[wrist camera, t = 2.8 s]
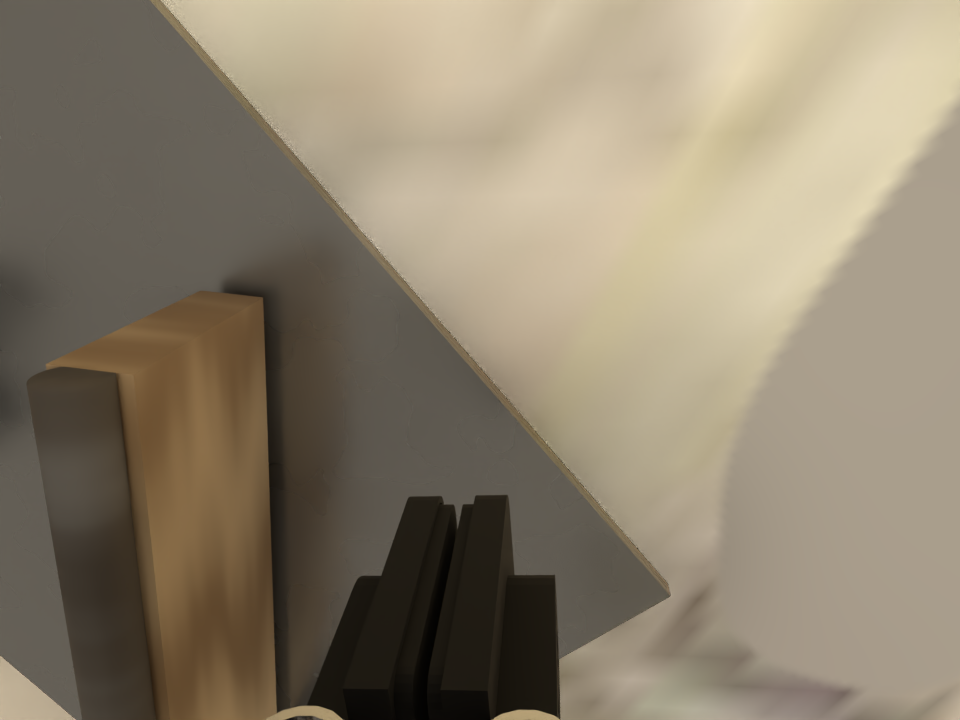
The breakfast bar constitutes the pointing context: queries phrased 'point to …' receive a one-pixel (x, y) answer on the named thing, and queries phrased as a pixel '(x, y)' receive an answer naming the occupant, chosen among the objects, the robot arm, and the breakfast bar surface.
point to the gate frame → (287, 333)
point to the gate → (164, 512)
